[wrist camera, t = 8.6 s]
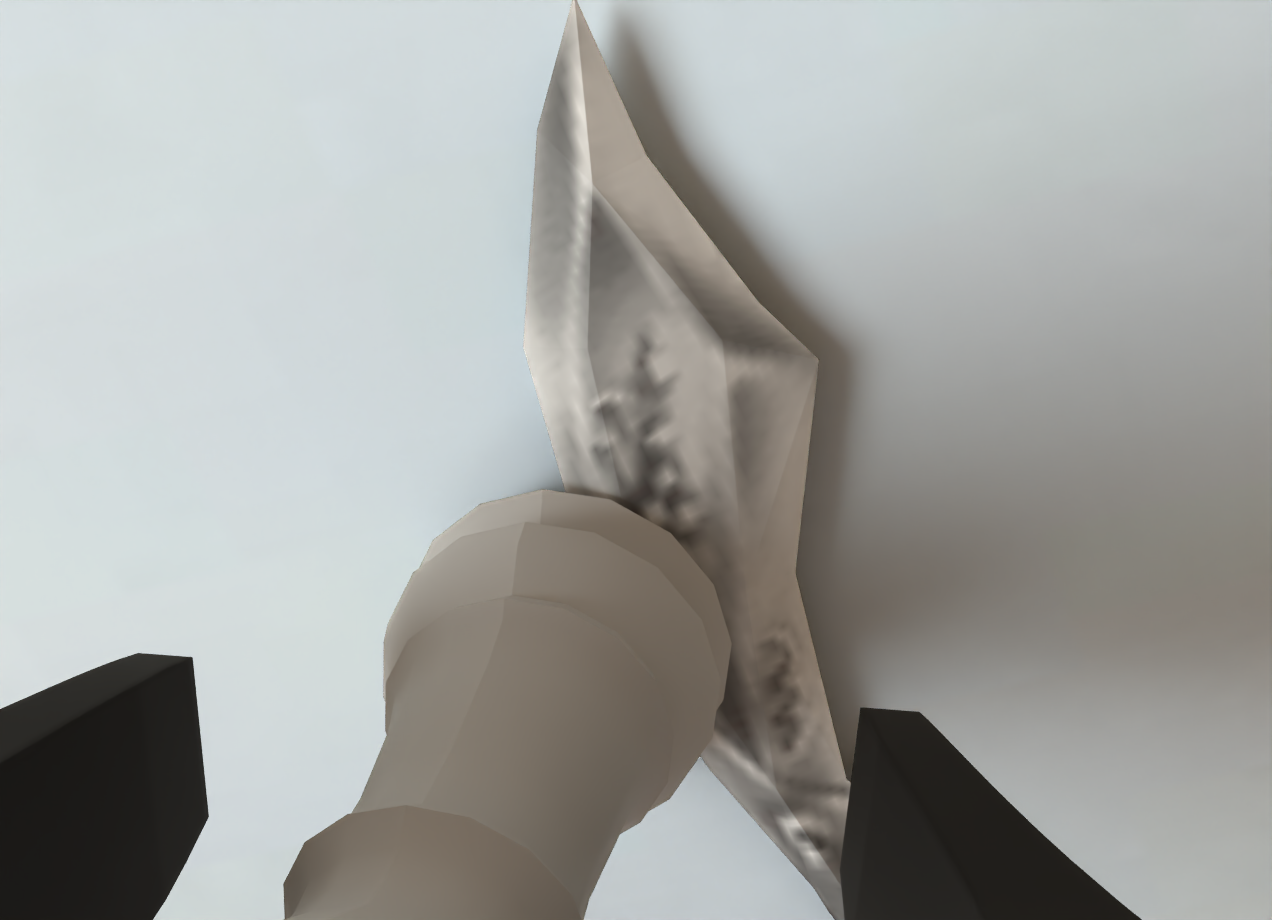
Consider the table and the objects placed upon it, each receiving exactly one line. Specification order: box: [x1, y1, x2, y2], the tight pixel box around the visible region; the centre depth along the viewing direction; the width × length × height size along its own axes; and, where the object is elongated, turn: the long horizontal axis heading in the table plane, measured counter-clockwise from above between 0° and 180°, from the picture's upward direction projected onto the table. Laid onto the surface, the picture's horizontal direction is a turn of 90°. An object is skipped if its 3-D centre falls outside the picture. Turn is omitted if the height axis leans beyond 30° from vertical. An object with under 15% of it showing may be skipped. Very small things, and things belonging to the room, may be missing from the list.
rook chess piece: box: [284, 489, 732, 920], centre depth 10 cm, size 4×4×8 cm
